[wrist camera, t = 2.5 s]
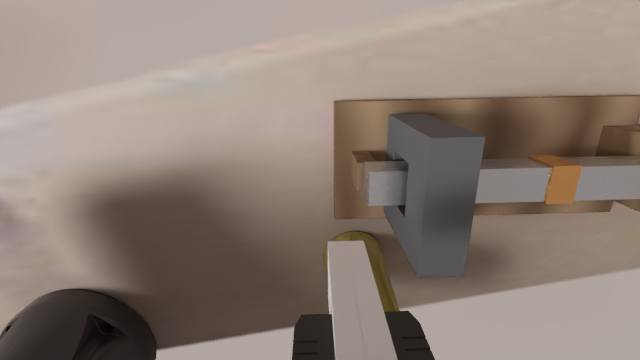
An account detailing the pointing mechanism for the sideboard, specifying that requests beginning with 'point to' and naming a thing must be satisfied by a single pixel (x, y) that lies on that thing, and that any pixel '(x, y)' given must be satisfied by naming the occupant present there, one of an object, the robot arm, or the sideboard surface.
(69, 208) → the sideboard surface
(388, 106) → the wooden stand
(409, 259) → the collar
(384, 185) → the light grey bar
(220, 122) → the sideboard surface
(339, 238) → the vase
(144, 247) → the sideboard surface
